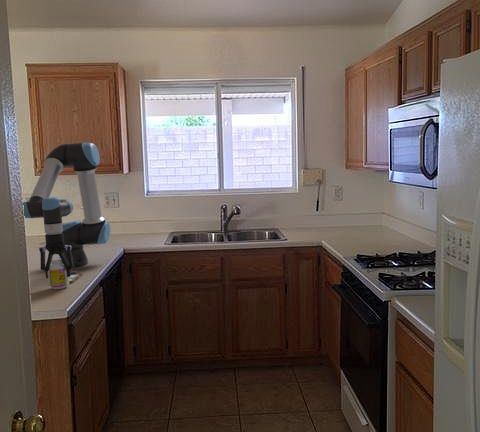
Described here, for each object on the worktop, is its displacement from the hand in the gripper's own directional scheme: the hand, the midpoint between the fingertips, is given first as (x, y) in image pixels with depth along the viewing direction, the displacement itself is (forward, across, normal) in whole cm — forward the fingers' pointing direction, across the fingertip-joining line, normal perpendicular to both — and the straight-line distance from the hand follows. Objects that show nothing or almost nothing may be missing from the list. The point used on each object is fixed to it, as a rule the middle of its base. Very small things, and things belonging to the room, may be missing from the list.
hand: (59, 284), depth 228 cm
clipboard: (+1, -2, +15) cm, 15 cm away
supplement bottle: (+2, 0, 0) cm, 2 cm away
